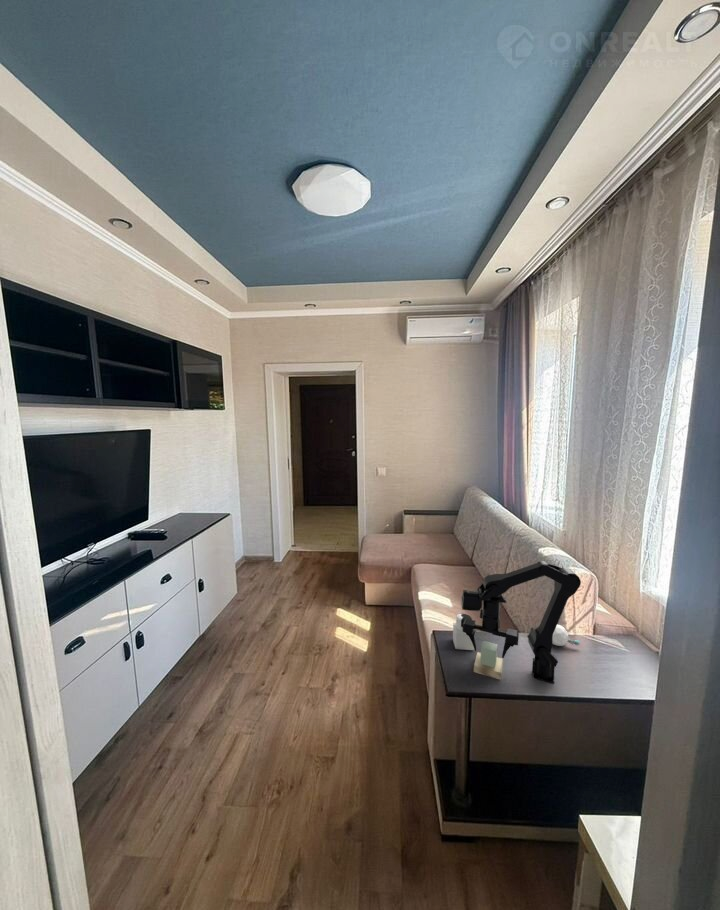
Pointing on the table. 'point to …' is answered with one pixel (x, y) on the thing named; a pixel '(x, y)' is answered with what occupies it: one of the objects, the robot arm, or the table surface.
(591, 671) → the table surface
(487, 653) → the green block
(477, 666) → the oak slab
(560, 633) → the perfume bottle
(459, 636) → the medicine bottle
